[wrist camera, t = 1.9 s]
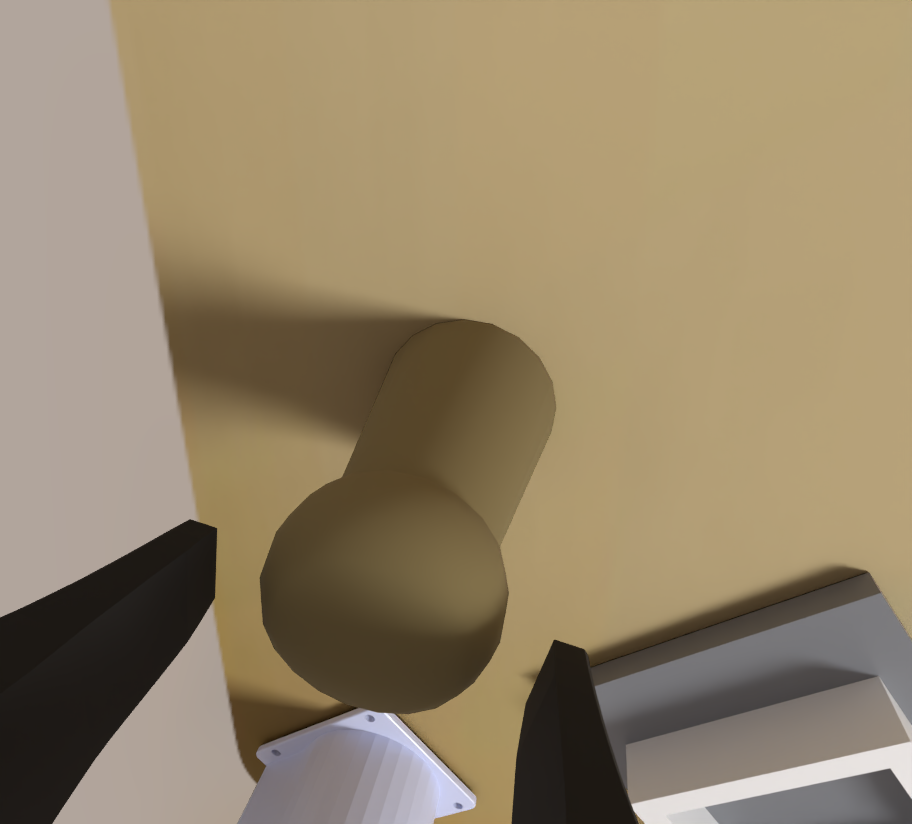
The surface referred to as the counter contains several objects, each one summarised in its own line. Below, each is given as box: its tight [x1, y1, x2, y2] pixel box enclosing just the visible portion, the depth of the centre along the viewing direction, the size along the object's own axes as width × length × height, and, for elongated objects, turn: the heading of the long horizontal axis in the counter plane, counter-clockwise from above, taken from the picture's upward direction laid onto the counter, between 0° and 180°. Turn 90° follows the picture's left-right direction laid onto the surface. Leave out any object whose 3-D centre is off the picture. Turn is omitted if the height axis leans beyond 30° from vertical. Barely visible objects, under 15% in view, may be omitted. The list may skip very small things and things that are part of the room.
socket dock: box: [591, 572, 912, 824], centre depth 24 cm, size 13×17×4 cm
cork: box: [260, 320, 556, 714], centre depth 16 cm, size 6×6×11 cm
